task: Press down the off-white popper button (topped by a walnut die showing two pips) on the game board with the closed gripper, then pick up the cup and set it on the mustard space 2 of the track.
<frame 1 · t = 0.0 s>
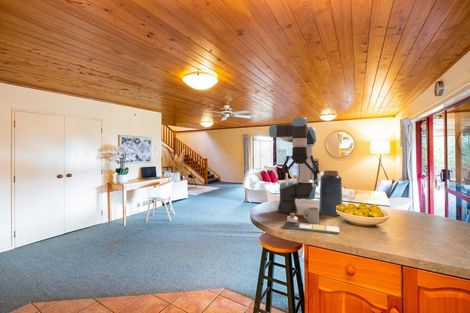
hand: (299, 185, 119), 28 cm above the counter, fingers open, 13 cm apart
game board: (310, 227, 134), on the counter
popper: (292, 217, 138), point 6 cm above the counter, slide at 0.0 cm
vase: (330, 213, 166), on the counter
cup: (310, 222, 145), on the counter
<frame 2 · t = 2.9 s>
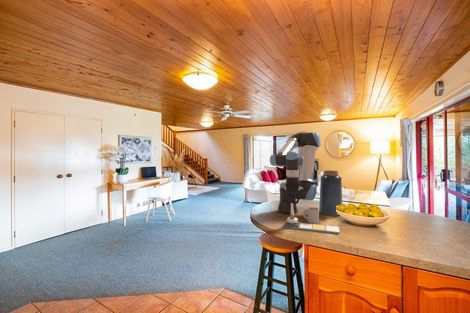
hand: (292, 214, 138), 7 cm above the counter, fingers closed
popper: (292, 218, 138), point 5 cm above the counter, slide at -0.7 cm, touching gripper
everything else where it was.
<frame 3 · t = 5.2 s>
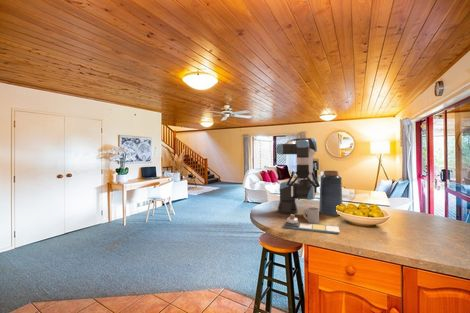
hand: (302, 197, 142), 17 cm above the counter, fingers open, 13 cm apart
popper: (292, 218, 138), point 5 cm above the counter, slide at -0.8 cm
everything else where it was.
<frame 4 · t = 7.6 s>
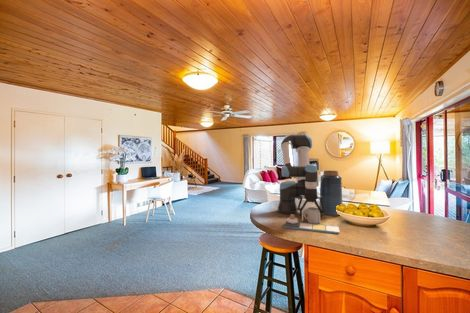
hand: (310, 221, 145), 0 cm above the counter, fingers closed on cup, 10 cm apart
cup: (310, 222, 145), on the counter, touching gripper
everything else where it was.
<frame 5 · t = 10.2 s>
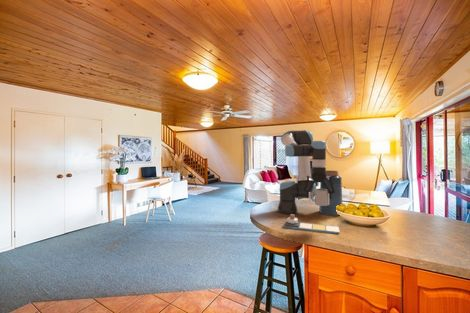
hand: (318, 203, 132), 15 cm above the counter, fingers closed on cup, 10 cm apart
cup: (318, 204, 132), point 15 cm above the counter, touching gripper
everything else where it was.
when the fingers open (3 cm above the counter, at t = 12.9 s): cup drops 1 cm, resting on game board.
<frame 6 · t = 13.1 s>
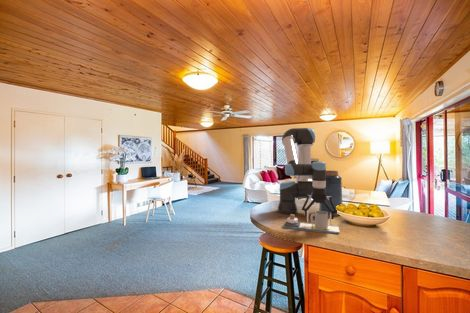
hand: (318, 223, 132), 3 cm above the counter, fingers open, 12 cm apart
cup: (318, 227, 132), point 1 cm above the counter, touching game board
everything else where it was.
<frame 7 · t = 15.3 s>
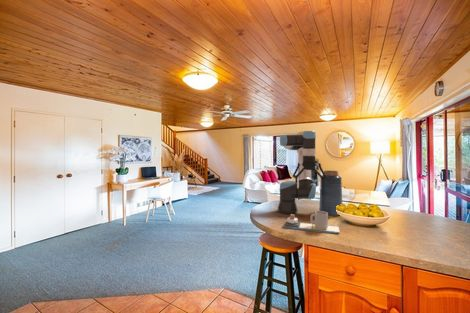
hand: (308, 188, 141), 23 cm above the counter, fingers open, 13 cm apart
nothing on the counter moved.
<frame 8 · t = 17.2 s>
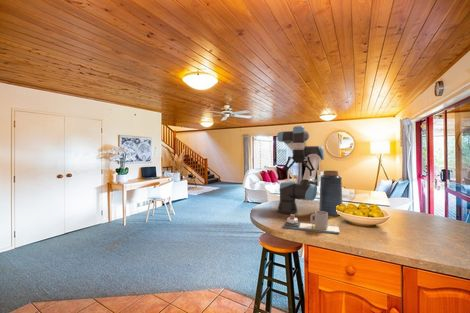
hand: (298, 180, 149), 27 cm above the counter, fingers open, 13 cm apart
nothing on the counter moved.
at the end: cup inside the target area on the game board (0.1 cm from its centre), point 0.8 cm above the game board's base; cup tilted 0°; the gripper is holding nothing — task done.
